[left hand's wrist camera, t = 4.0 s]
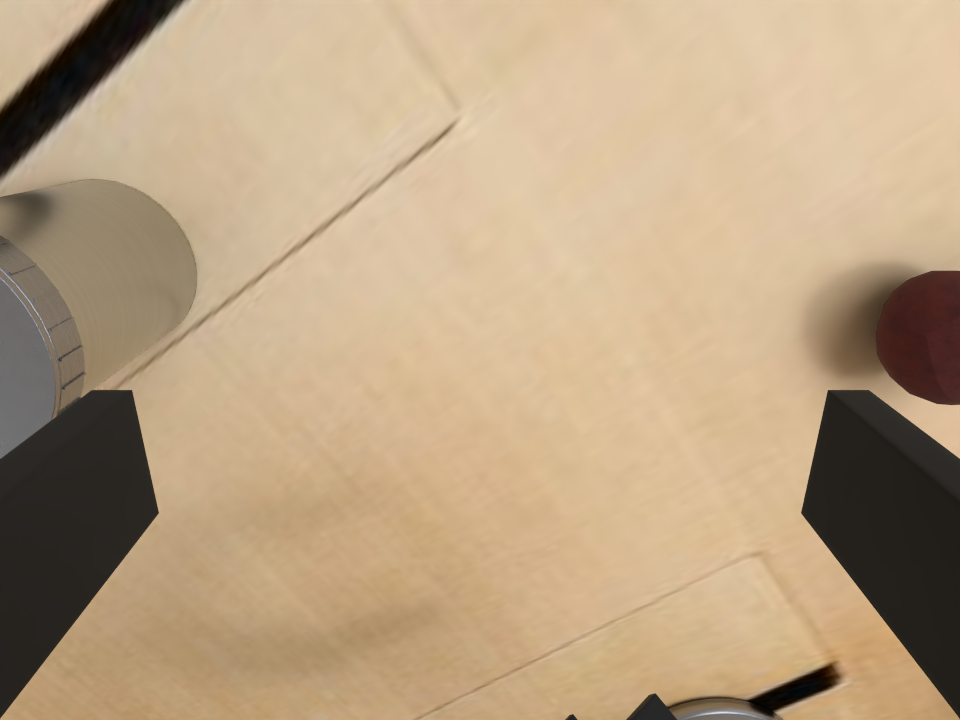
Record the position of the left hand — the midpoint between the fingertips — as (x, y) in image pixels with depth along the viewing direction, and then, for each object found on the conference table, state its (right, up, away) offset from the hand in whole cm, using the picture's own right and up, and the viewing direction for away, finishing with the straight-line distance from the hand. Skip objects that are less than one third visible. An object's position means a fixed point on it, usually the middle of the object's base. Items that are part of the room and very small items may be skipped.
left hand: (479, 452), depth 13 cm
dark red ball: (+27, +5, +28) cm, 39 cm away
